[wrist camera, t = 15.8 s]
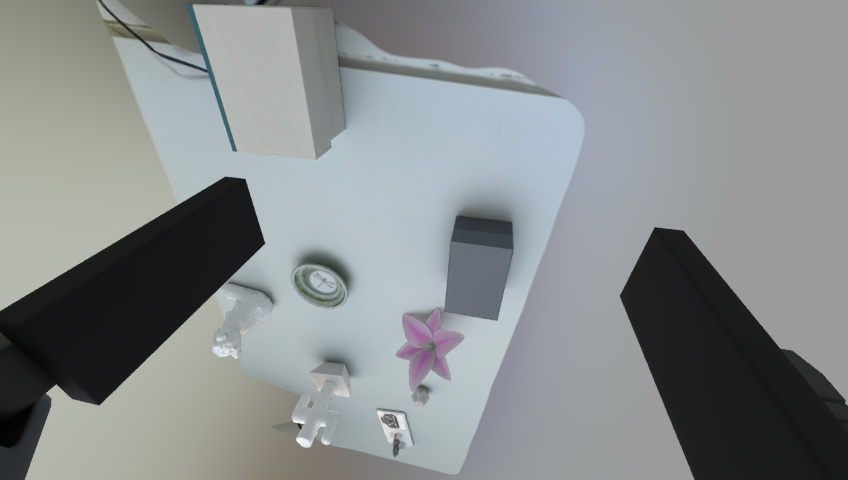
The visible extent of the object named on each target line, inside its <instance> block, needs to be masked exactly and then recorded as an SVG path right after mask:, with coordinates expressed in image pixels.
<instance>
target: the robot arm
mask: <svg viewBox="0 0 848 480" xmlns="http://www.w3.org/2000/svg"><path fill="white" fill-rule="evenodd" d="M264 244H265V242H264V238H263V235H262V232H261V228H260V225H259V222H258V219H257V215H256V212H255V209H254V206H253V202H252V199H251V196H250V192H249V189H248V186H247V183H246V179H241V178H233V177H224V178H222V179H221V180H219V181H217V182H216V183H214V184H212V185H211V186H209V187H207V188H206V189H204V190H202V191H201V192H199V193H197V194H196V195H194V196H192V197H191V198H189V199H187V200H186V201H184V202H182V203H181V204H179V205H177V206H176V207H174V208H172V209H171V210H169V211H167V212H166V213H164V214H162V215H160V216H159V217H157V218H155V219H154V220H152V221H150V222H149V223H147V224H145V225H144V226H142V227H140V228H139V229H137V230H135V231H134V232H132V233H130V234H129V235H127V236H125V237H124V238H122V239H120V240H119V241H117V242H115V243H113V244H112V245H111V246H109V247H107V248H105V249H104V250H102V251H100V252H98V253H97V254H95V255H93V256H92V257H90V258H88V259H87V260H85V261H83V262H82V263H80V264H78V265H77V266H75V267H73V268H72V269H70V270H68V271H67V272H65V273H63V274H61V275H60V276H58V277H57V278H55V279H53V280H51V281H50V282H48V283H46V284H45V285H43V286H42V287H40V288H38V289H36V290H35V291H33V292H31V293H30V294H28V295H26V296H25V297H23V298H21V299H20V300H18V301H16V302H15V303H13V304H11V305H10V306H8V307H6V308H4V309H3V310H1V311H0V480H25V477H26V474H27V472H28V469H29V466H30V463H31V460H32V458H33V455H34V452H35V449H36V447H37V444H38V441H39V438H40V436H41V433H42V430H43V427H44V424H45V422H46V419H47V416H48V413H49V411H50V407H51V398H50V397H49V396H48V395H47V394H46V392H48V391H49V390H50V389H51V388H52V387H53V386H55V385H56V384H57V385H58V386H59V387H60V388H61V389H62V390H63V391H64V392H65V393H66V394H67V395H69V396H70V397H71V398H72V399H75V400H79V401H83V402H87V403H91V404H95V405H100V404H101V403H102V402H103V401H104V400H105V399H106V398H107V397H108V396H109V395H110V394H112V393H113V392H114V391H115V390H116V389H117V388H118V387H119V386H120V385H121V384H122V383H123V382H124V381H125V380H126V379H127V378H128V377H129V376H130V375H131V374H132V373H133V372H134V371H135V370H136V369H137V368H138V367H139V366H140V365H141V364H142V363H143V362H144V361H145V360H146V359H147V358H148V357H149V356H150V355H151V354H152V353H154V351H156V350H157V349H158V348H159V347H160V346H161V345H162V344H163V343H164V342H165V341H166V340H167V339H168V338H169V337H170V336H171V335H172V334H173V333H174V332H175V331H176V330H177V329H178V328H179V327H180V326H181V325H182V324H183V323H184V322H185V321H186V320H187V319H188V318H189V317H190V316H191V315H192V314H193V313H194V312H195V311H197V310H198V309H199V308H200V307H201V305H203V303H205V302H206V301H207V300H208V299H209V298H210V297H211V296H212V295H213V294H214V293H215V292H216V291H217V290H218V289H219V288H220V287H221V286H222V285H223V284H224V283H225V282H226V281H227V280H228V279H229V278H230V277H231V276H232V275H233V274H234V273H236V272H237V271H238V270H239V269H240V268H241V267H242V266H243V265H244V264H245V263H246V262H247V261H248V260H249V259H250V258H251V257H252V256H253V255H254V254H255V253H256V252H257V251H258V250H259V249H260V248H261V247H262V246H263V245H264ZM620 297H621V300H622V303H623V305H624V307H625V310H626V312H627V315H628V317H629V320H630V322H631V325H632V327H633V330H634V332H635V334H636V337H637V339H638V342H639V344H640V347H641V349H642V351H643V354H644V357H645V359H646V361H647V364H648V366H649V369H650V371H651V374H652V376H653V379H654V381H655V384H656V386H657V389H658V391H659V393H660V396H661V398H662V401H663V403H664V406H665V408H666V411H667V413H668V416H669V418H670V420H671V423H672V425H673V428H674V430H675V433H676V435H677V438H678V440H679V442H680V445H681V447H682V450H683V452H684V455H685V457H686V460H687V462H688V465H689V467H690V470H691V472H692V475H693V477H694V479H695V480H848V406H847V405H846V404H845V399H844V398H843V397H842V396H841V395H840V394H839V392H838V391H837V390H836V389H835V388H834V387H833V386H832V384H831V383H830V382H829V381H828V380H827V379H826V378H825V376H824V375H823V374H822V373H820V372H819V371H818V370H816V369H815V368H814V367H813V366H811V365H810V364H809V363H807V362H806V361H805V360H803V359H802V358H801V357H800V356H798V355H797V354H796V353H795V352H793V351H791V350H785V349H780V348H779V347H778V345H777V344H776V343H775V342H774V341H773V339H772V338H771V337H770V336H769V334H768V333H767V332H766V331H765V330H764V328H763V327H762V326H761V325H760V324H759V322H758V321H757V320H756V319H755V317H754V316H753V315H752V314H751V312H750V311H749V310H748V309H747V308H746V306H745V305H744V304H743V303H742V302H741V300H740V299H739V298H738V297H737V295H736V294H735V293H734V292H733V291H732V289H731V288H730V287H729V286H728V284H727V283H726V282H725V281H724V280H723V278H722V277H721V276H720V275H719V273H718V272H717V271H716V270H715V268H714V267H713V266H712V265H711V264H710V262H709V261H708V260H707V259H706V257H705V256H704V255H703V254H702V253H701V251H700V250H699V249H698V248H697V246H696V245H695V244H694V243H693V242H692V240H691V239H690V238H689V237H688V236H687V234H686V233H685V232H684V231H682V230H673V229H665V228H656V227H655V228H654V230H653V232H652V234H651V236H650V238H649V240H648V242H647V244H646V245H645V247H644V249H643V251H642V254H641V255H640V257H639V259H638V261H637V263H636V265H635V267H634V269H633V271H632V273H631V275H630V277H629V279H628V281H627V283H626V285H625V287H624V289H623V291H622V293H621V295H620Z"/></svg>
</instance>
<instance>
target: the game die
mask: <svg viewBox="0 0 848 480" xmlns="http://www.w3.org/2000/svg"><path fill="white" fill-rule="evenodd" d="M412 399H413V402H414V404H415V405H416V406H419V407H423V406H424V405H425V404H426V402H427V401H428V400H429V396H428V393H427V391H426V389H425V388H421V387H418V388H417V389H416V390H415V391H414V393H413V394H412Z"/></svg>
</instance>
